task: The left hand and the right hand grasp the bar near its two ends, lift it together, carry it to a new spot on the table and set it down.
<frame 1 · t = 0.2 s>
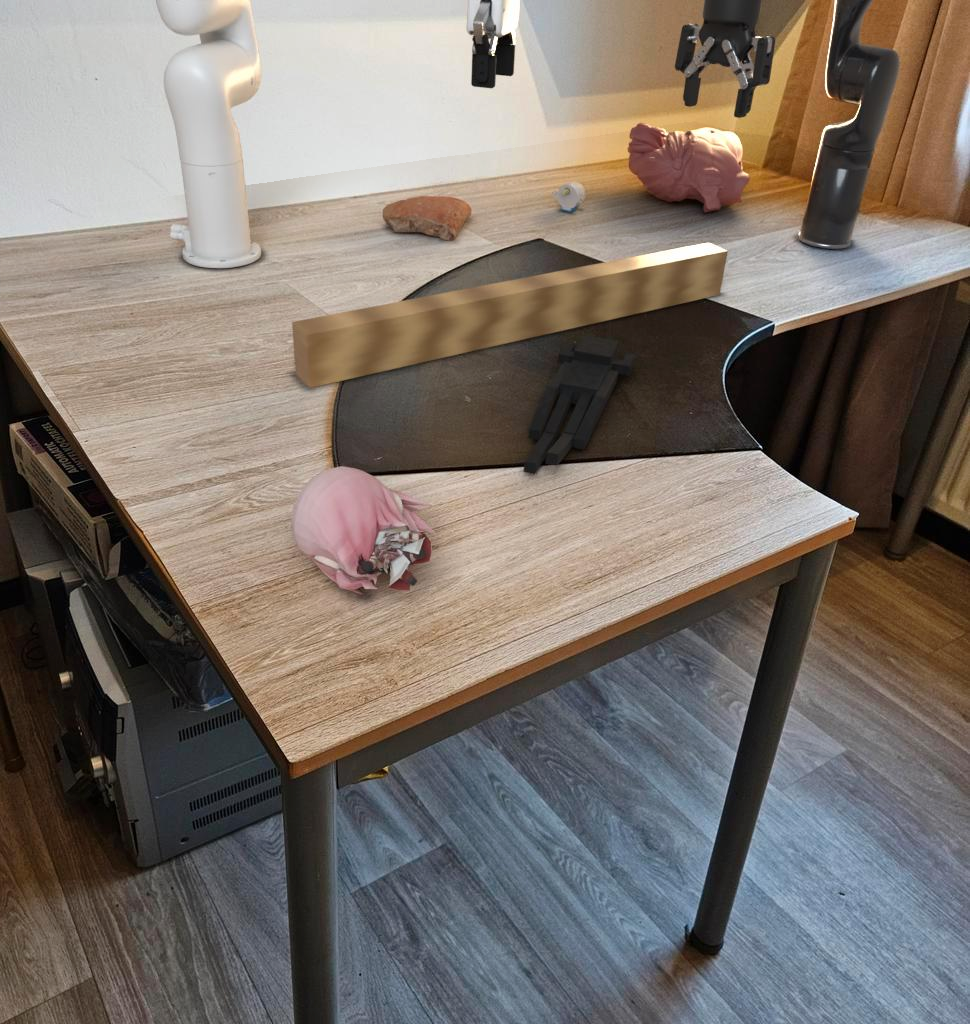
left hand: (493, 80, 132), 31 cm above the table, tool pointing down, fingers open, 9 cm apart
right hand: (714, 111, 137), 28 cm above the table, tool pointing down, fingers open, 8 cm apart
bar: (530, 330, 139), on the table
ceramic shard: (425, 226, 176), on the table
toy: (571, 421, 117), on the table
toy 2: (371, 575, 90), on the table
electric motor: (567, 211, 188), on the table
fabric sculpture: (687, 190, 204), on the table
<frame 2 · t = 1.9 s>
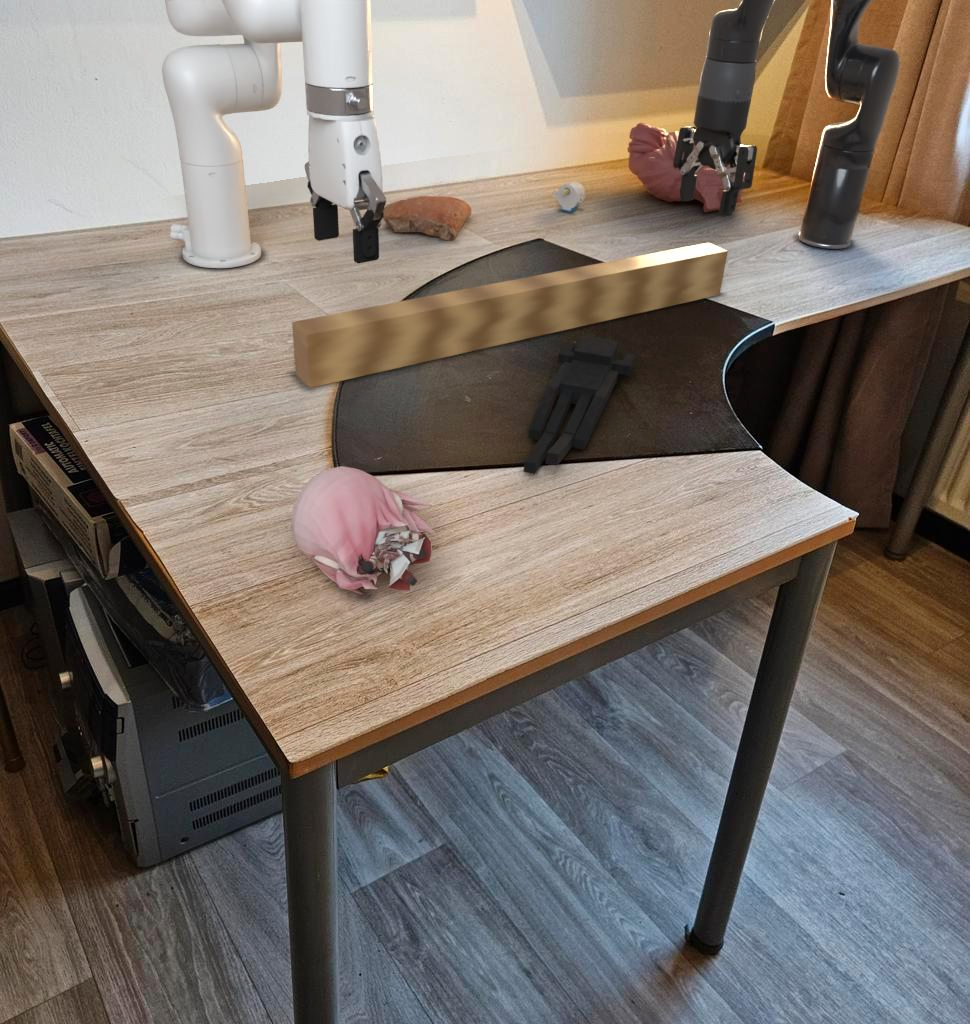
left hand: (346, 249, 118), 16 cm above the table, tool pointing down, fingers open, 9 cm apart
right hand: (705, 207, 146), 14 cm above the table, tool pointing down, fingers open, 8 cm apart
nothing on the table moved.
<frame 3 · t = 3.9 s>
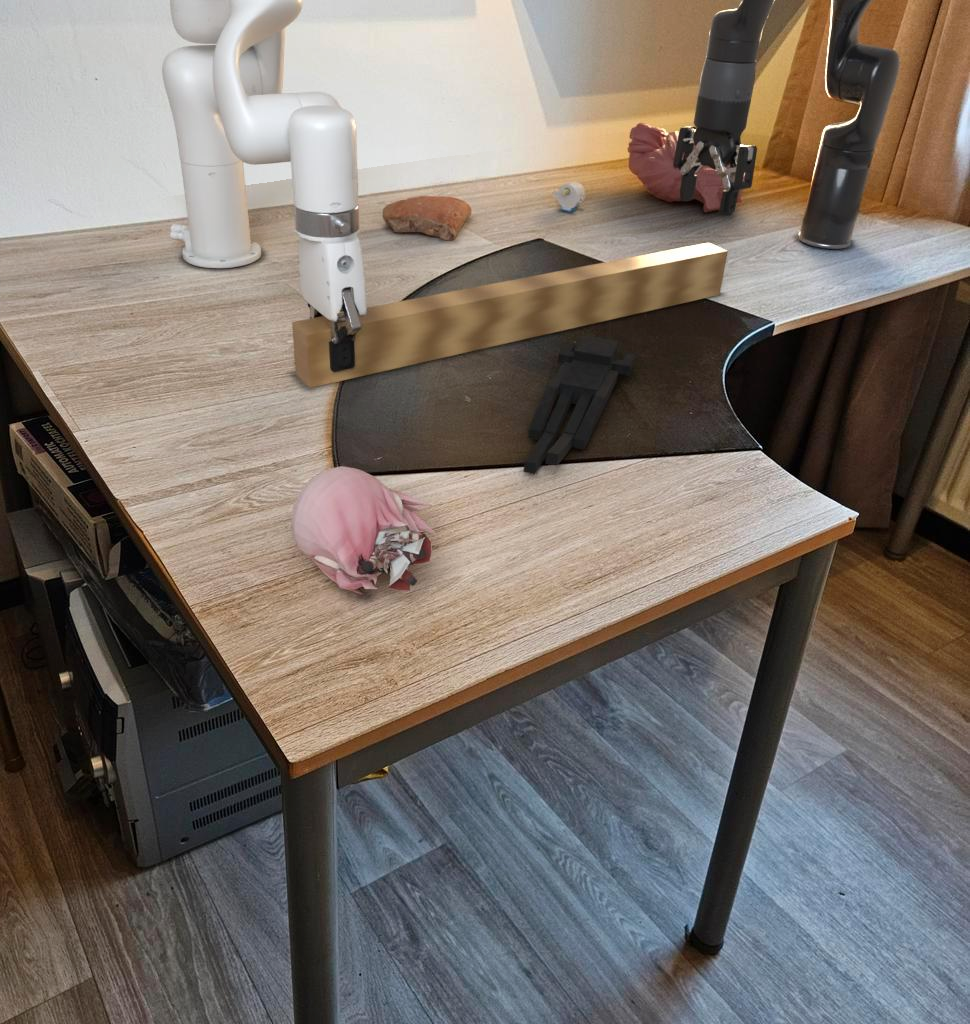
left hand: (333, 359, 124), 2 cm above the table, tool pointing down, fingers closed on bar, 4 cm apart
right hand: (705, 207, 146), 14 cm above the table, tool pointing down, fingers open, 8 cm apart
bar: (530, 330, 139), on the table, touching left hand
everything else where it was.
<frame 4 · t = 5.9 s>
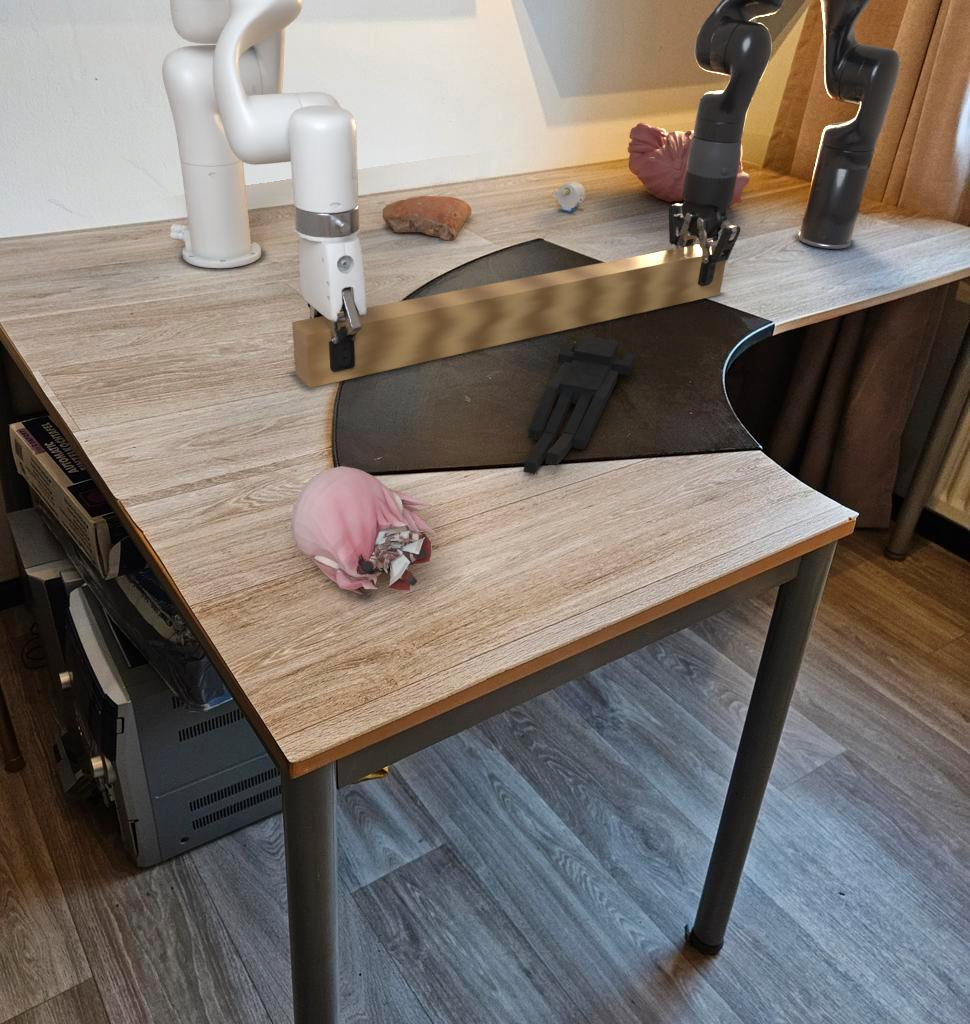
left hand: (333, 359, 124), 2 cm above the table, tool pointing down, fingers closed on bar, 4 cm apart
right hand: (692, 279, 152), 3 cm above the table, tool pointing down, fingers closed on bar, 4 cm apart
bar: (530, 330, 139), on the table, touching left hand, right hand
everything else where it was.
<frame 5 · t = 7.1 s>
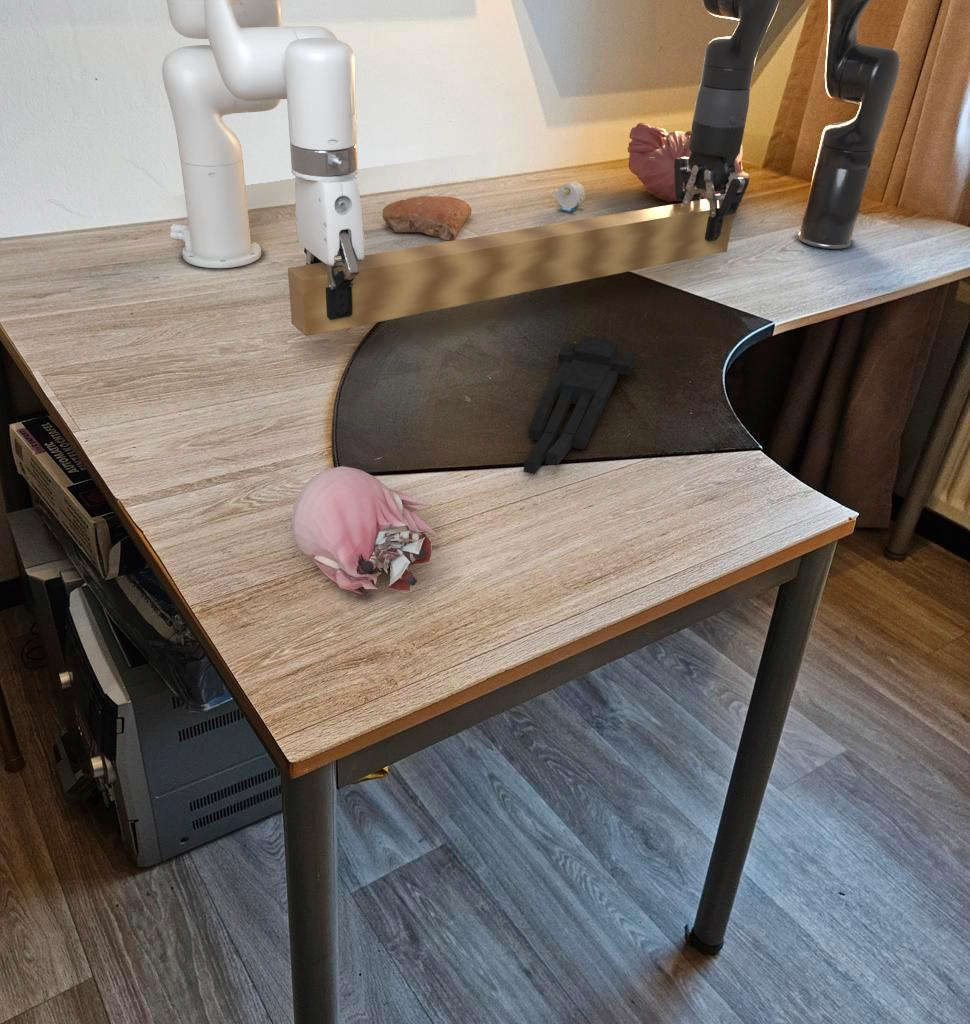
left hand: (330, 307, 120), 9 cm above the table, tool pointing down, fingers closed on bar, 4 cm apart
right hand: (699, 234, 149), 10 cm above the table, tool pointing down, fingers closed on bar, 4 cm apart
bar: (533, 283, 136), point 7 cm above the table, touching left hand, right hand
everything else where it was.
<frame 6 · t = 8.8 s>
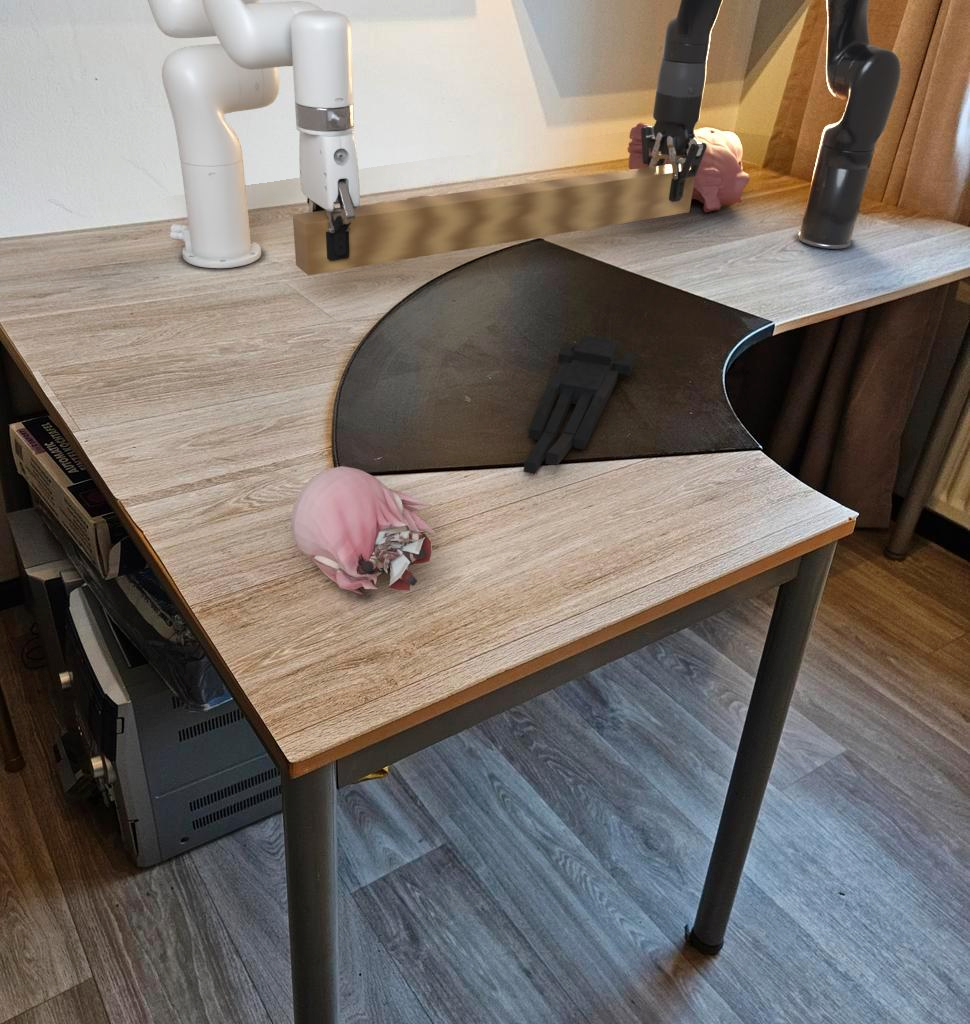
left hand: (330, 251, 136), 9 cm above the table, tool pointing down, fingers closed on bar, 4 cm apart
right hand: (664, 196, 165), 10 cm above the table, tool pointing down, fingers closed on bar, 4 cm apart
bar: (512, 236, 152), point 7 cm above the table, touching left hand, right hand
everything else where it was.
when the left hand's fingers open (3 cm above the table, at t = 10.1 s): bar stays where it is, on the table.
when the right hand's fingers open (4 cm above the table, at t = 10.1 s): bar stays where it is, on the table.
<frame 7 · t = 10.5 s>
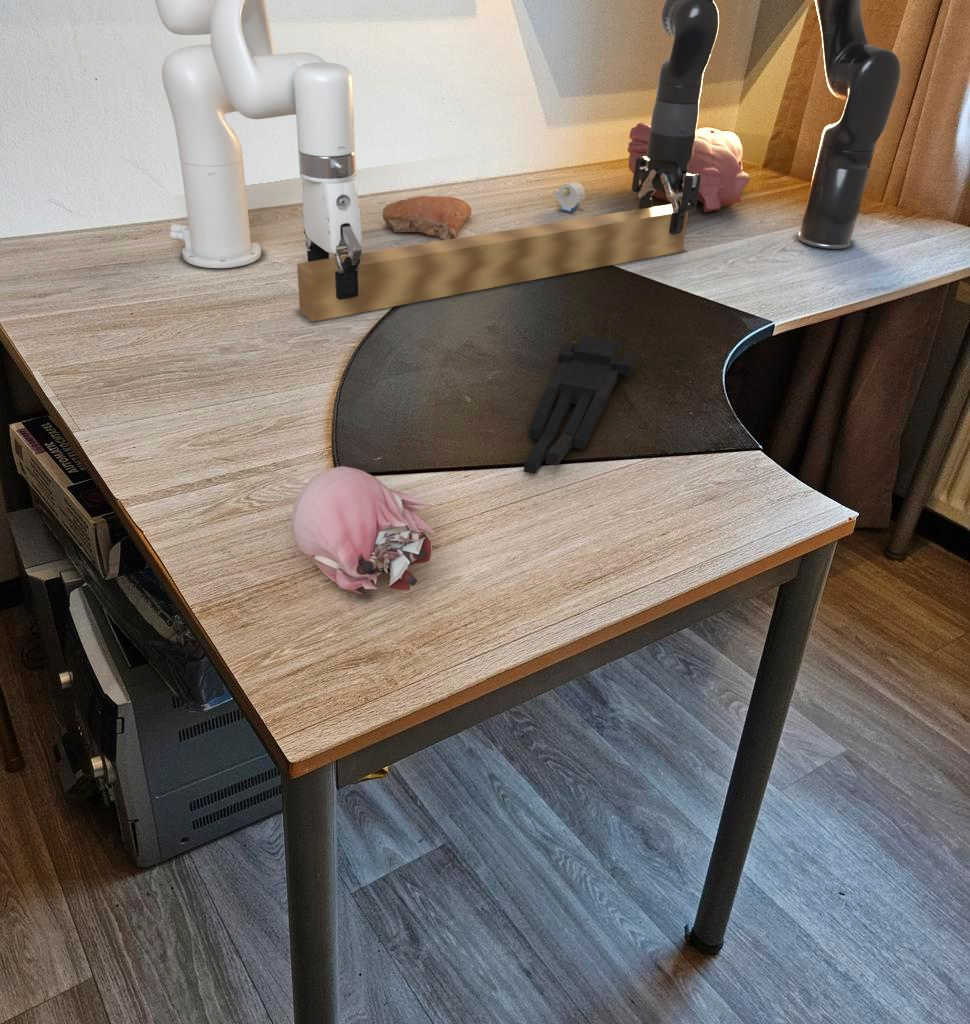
left hand: (333, 286, 139), 4 cm above the table, tool pointing down, fingers open, 9 cm apart
right hand: (658, 226, 168), 4 cm above the table, tool pointing down, fingers open, 8 cm apart
bar: (509, 278, 156), on the table
everything else where it was.
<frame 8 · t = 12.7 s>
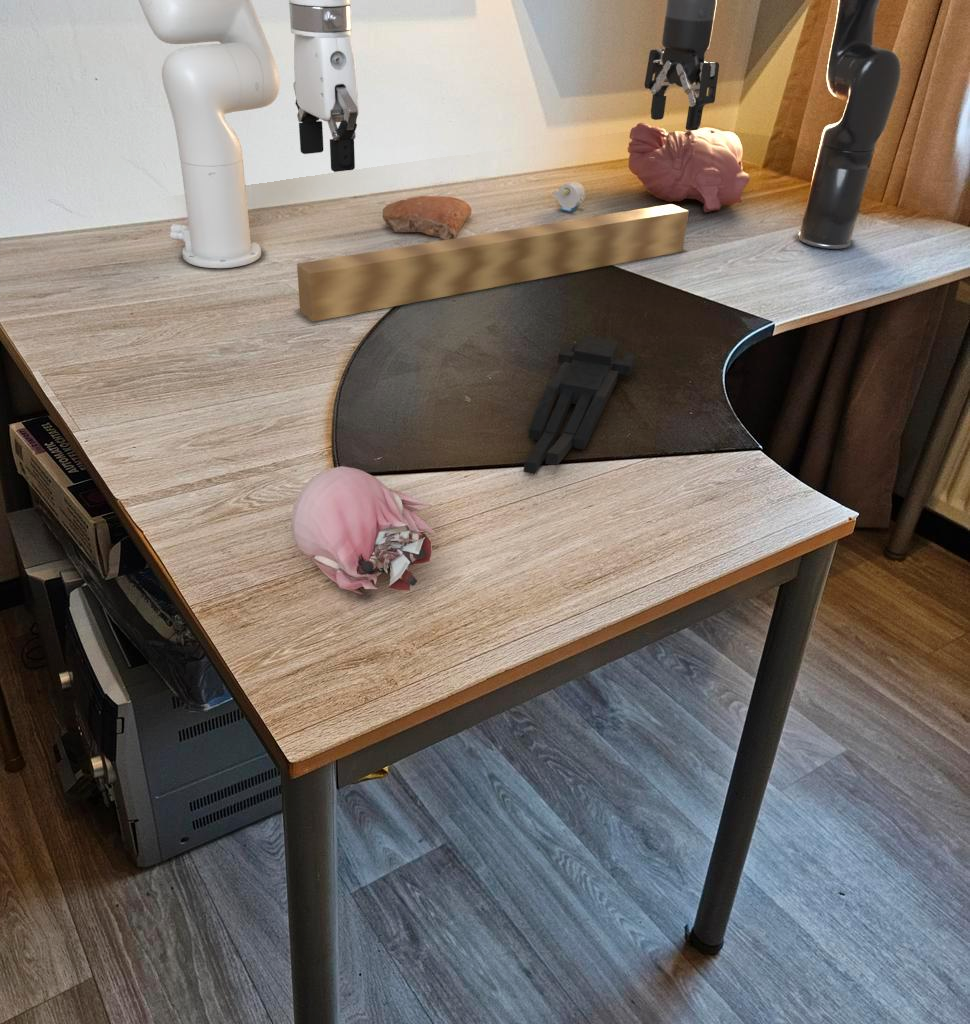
left hand: (327, 161, 130), 22 cm above the table, tool pointing down, fingers open, 9 cm apart
right hand: (673, 124, 159), 21 cm above the table, tool pointing down, fingers open, 8 cm apart
nothing on the table moved.
at the end: bar inside the target area (0.1 cm from its centre), on the table; bar tilted 0°; bar never tilted more than 1° during the clip; both hands held the bar at the same time; the left hand is holding nothing; the right hand is holding nothing; bar at rest at the end (0.0 cm/s) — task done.
